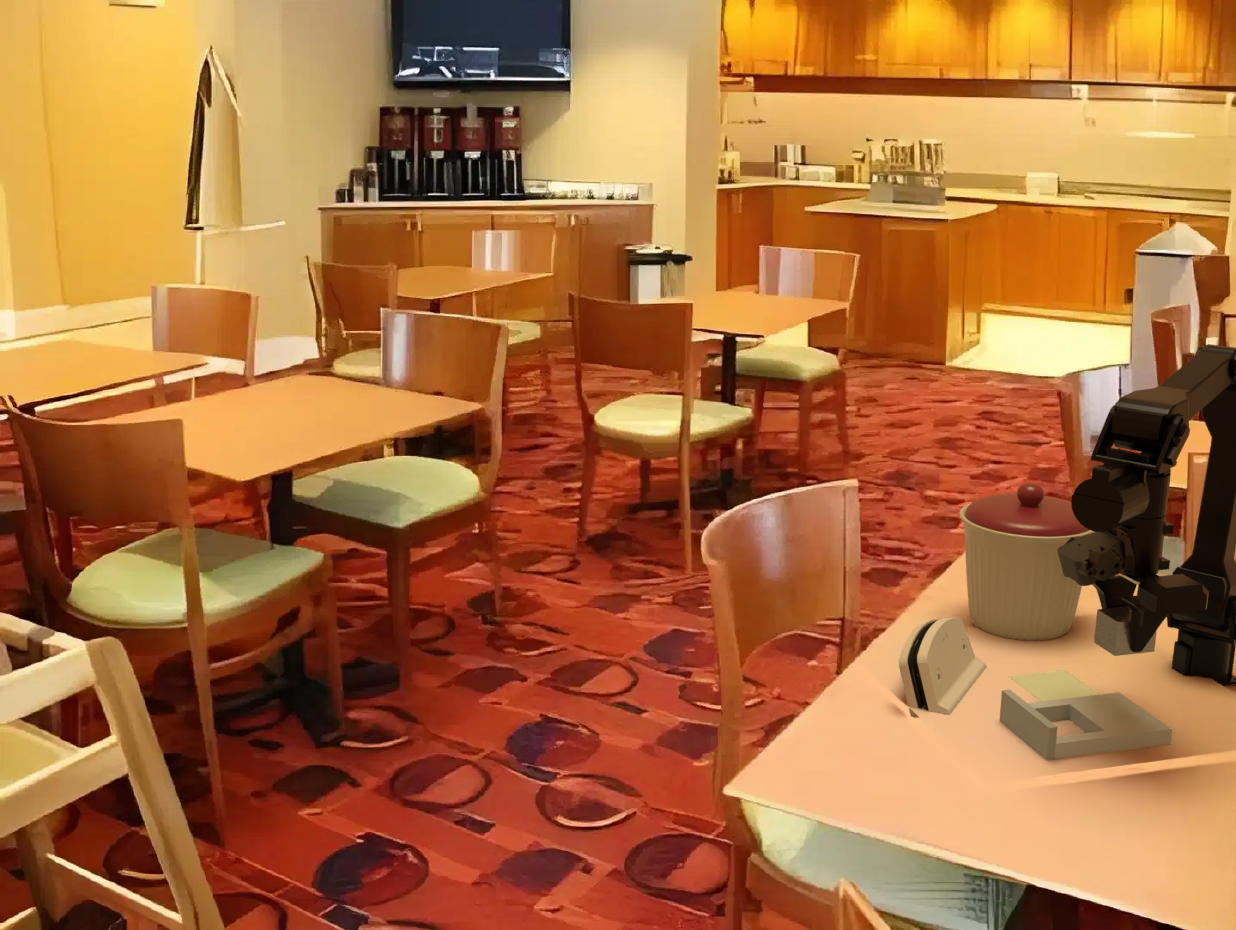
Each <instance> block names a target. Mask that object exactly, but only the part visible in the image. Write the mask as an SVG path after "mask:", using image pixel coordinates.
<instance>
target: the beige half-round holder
mask: <svg viewBox="0 0 1236 930" xmlns="http://www.w3.org/2000/svg"><path fill="white" fill-rule="evenodd" d="M968 635H969V634H968V633H967V630H966V627H965V624H964V621H963V620H962V618H960V617H942V618H940V619H938V618H936V619H935V618H934V619H931V620H929V621H925V622H923V623H921V624H919V625H917V626H916V627H915V628H913V630H912V631H911V632H910V633H909V634H908V636H907V638H906V640H905V642H904V644H903V646H902V649H901V651H900V654H899V658H898V668H899V672H900V677H901V681H902V684H903V685H902V686H903V690H904V693H905V698H906V701H907V702H906V703H907V706H908V709H909V714H910V717H911V718H913V719H917V718H920V716H919V714H917V713H916V712H915V711H914V710H913V709H917V710H918V709H920V710H923V709H924V707H925V711H928V712H929V713H934V714H935V713H936V714H941V715H944V714H945V715H947V716H951V715H952V714H953V712H954V710H955V709H956V708H957V707H958V705H959V704H960V703H961V702H962V700H963V699H964V697H965V696H966V695H967V694H968V692H969V691H970V689H972V687H973V686H974V684H975V683H976V682H977V680H978V679H979V678H980V677H981V675H982V674H983V673H984V671H985V670H986V669H987V664H986V663H985V662H984V661H982V660H980V659H979V658H977V657H976V655H975V652H974V649H973V647H972V644H971V640H970V638H969V636H968ZM912 708H913V709H912Z"/></svg>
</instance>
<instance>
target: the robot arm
mask: <svg viewBox="0 0 1236 930" xmlns="http://www.w3.org/2000/svg"><path fill="white" fill-rule="evenodd" d="M1199 412H1201V417H1202V419H1203V422H1204V424H1205V426H1206V428H1207V431H1208V433H1209V435H1210V437H1211V440H1210V446H1209V453H1208V458H1207V465H1206V469H1205V476H1204V481H1203V482H1204V483H1203V487H1202V494H1201V499H1200V506H1199V512H1198V519H1197V525H1196V528H1195V534H1194V535H1195V536H1194V541H1193V548H1192V552H1191V555H1189V556H1188V558H1187V559H1186V560H1185V561H1184V562H1183V563H1182V564H1181V565H1180V566H1177V567H1175V569H1174V570H1173V572H1172V574H1169V575H1158V574H1159V571H1164V570H1170V566H1171V564H1170V563H1171V560H1169V559H1168V558H1165V556H1163V551H1164V539H1165V535H1172V534H1174V528H1175V525H1174V523H1171V522H1168V521H1166V520H1167V512H1168V511H1167V510H1168V504H1169V494H1170V493H1169V492H1170V484H1171V476H1172V474H1171V472H1172V468H1174V467H1176V466H1177V464H1178V461H1177V460H1178V458H1179V456H1180V454H1181V452H1182V450H1183V449H1184V446H1185V444H1186V442H1187V440H1188V438H1189V436H1190V432H1191V429H1190V421H1191V420H1192V419H1193V418H1194V417H1195V416H1196V415H1197V414H1198V413H1199ZM1113 446H1115V448H1113ZM1119 448H1120V449H1119ZM1125 449H1126V450H1125ZM1135 451H1136V452H1135ZM1090 461H1093V462H1098V463H1101V464H1098V465H1095V466H1093V468H1092V470H1091V471H1092V472H1091V477H1090V478H1087V479H1085V480H1082V481H1081V482H1080V483H1079V484H1078V485H1077V486H1076V488H1075V490H1074V492H1073V494H1071V499H1070V502H1071V506H1072V510H1073V513H1074V515H1075V517H1076V519H1077V520H1078V521H1079V523H1080V524H1081V525H1083V526H1084V527H1085V528H1087V529H1089V530H1091V531H1094V532H1095V533H1092V534H1088V535H1085V536H1078V537H1071V538H1070V539H1069V540H1068V541H1067V543H1066V544H1065V545H1063V546H1061V547H1059V548H1058V549H1057V552H1058V556H1059V560H1060V563H1061V567H1062V571H1063V575H1064V576H1065V577H1069V578H1071V579H1073V580H1074V581H1076V583H1077V584H1079V585H1081V586H1082V587H1087V586H1088V587H1089V586H1093V588H1095V590H1096V593H1097V595H1098V599H1099V602H1100V607H1101V609H1106V608H1116V607H1126V606H1129V607H1130V608H1131V650H1132V651H1133V652H1141V651H1142V650H1143V649H1144V648H1145V646H1146V645H1147V643H1148V642H1149V640H1150V639H1151V638H1152V636H1153V635H1154V633H1155V632H1156V633H1157V631H1156V630H1158V629H1159V627H1160V626H1161V625H1162V624H1163V622H1164V621H1165V620H1166V622H1167V623H1166V624H1167V628H1169V629H1176V630H1178V632H1177V640H1175V642H1174V645H1173V653H1172V661H1171V662H1172V663H1171V669H1172V670H1174V671H1175V672H1177V673H1178V674H1181V675H1182V676H1183V677H1190V678H1191V677H1198V678H1204V679H1210V680H1212V681H1214V682H1216V683H1218V684H1219V685H1220V686H1222V687H1225V686H1234V685H1236V676H1235V675H1233V670H1234V664H1235V655H1236V560H1235V554H1236V347H1234V346H1225V345H1218V344H1209V343H1208V344H1206V345H1201V346H1198V348H1197V349H1196V351H1195V354H1194V356H1193V357H1192V358H1191V359H1190V360H1188V361H1187V362H1186V363H1185V364H1184V365H1183V366H1180V367H1179V369H1177V370H1176V371H1175V372H1174V373H1173V374H1171V376H1169V377H1168V378H1167V379H1165V380H1164V381H1163V382H1162V383H1160V384H1158V386H1156V387H1153V388H1146V389H1138V390H1134V391H1132V392H1129V393H1127V394H1125V395H1122V396H1121V397H1120V398H1119V399H1118V400H1117V401H1116V402H1115V403H1114V405H1112V407H1111V408H1110V409H1109V411H1108V414H1107V415H1106V418H1105V421H1104V423H1103V426H1102V428H1101V431H1100V433H1099V436H1098V439H1097V440H1096V443H1095V446H1094V447H1093V451H1092V453H1091V455H1090ZM1136 589H1137V591H1136ZM1135 592H1136V595H1135Z"/></svg>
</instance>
